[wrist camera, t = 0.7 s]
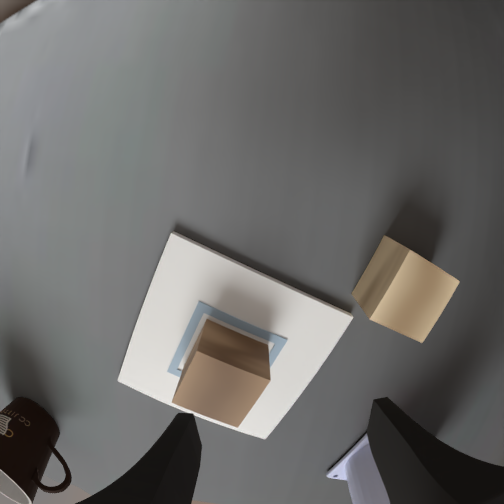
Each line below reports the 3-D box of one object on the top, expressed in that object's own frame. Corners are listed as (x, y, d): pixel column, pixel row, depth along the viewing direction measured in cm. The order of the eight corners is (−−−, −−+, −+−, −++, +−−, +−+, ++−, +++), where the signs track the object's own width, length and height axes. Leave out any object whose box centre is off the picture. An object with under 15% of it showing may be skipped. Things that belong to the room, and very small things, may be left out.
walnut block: (268, 345, 21) (270, 380, 17) (240, 390, 22) (237, 427, 18) (206, 318, 21) (196, 350, 17) (183, 367, 22) (171, 402, 18)
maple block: (430, 262, 20) (459, 281, 16) (399, 316, 21) (422, 343, 17) (383, 234, 20) (410, 249, 16) (350, 293, 21) (369, 319, 17)
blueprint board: (351, 313, 21) (353, 318, 20) (265, 434, 24) (265, 440, 23) (173, 231, 20) (170, 233, 19) (120, 376, 23) (117, 381, 22)
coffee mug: (10, 420, 26) (-29, 470, 16) (4, 374, 24) (-48, 428, 14) (90, 468, 27) (61, 530, 17) (95, 430, 25) (57, 504, 15)
